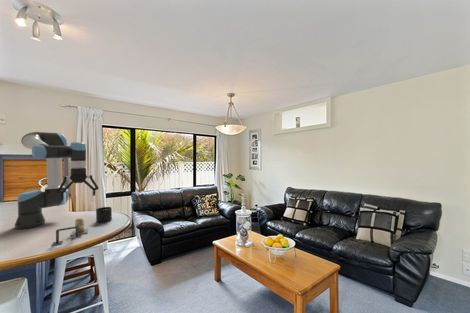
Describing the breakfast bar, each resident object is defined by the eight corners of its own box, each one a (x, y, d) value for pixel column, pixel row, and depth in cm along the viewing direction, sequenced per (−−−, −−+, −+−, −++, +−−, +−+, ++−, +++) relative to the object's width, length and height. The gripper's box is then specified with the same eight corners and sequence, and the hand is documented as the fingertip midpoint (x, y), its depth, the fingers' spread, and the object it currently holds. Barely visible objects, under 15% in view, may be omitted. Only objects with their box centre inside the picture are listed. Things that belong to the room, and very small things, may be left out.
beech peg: (75, 233, 126) (75, 220, 125) (75, 231, 129) (75, 218, 129) (84, 232, 128) (84, 219, 128) (84, 230, 132) (84, 217, 132)
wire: (55, 239, 118) (54, 225, 118) (81, 235, 125) (81, 221, 125) (52, 246, 110) (51, 231, 110) (80, 240, 117) (80, 226, 117)
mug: (93, 224, 143) (93, 211, 143) (98, 219, 155) (97, 207, 155) (109, 223, 147) (109, 210, 147) (112, 218, 158) (112, 206, 158)
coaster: (72, 232, 130) (72, 231, 130) (87, 229, 134) (87, 228, 134) (70, 236, 123) (70, 235, 123) (87, 233, 127) (87, 232, 127)
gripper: (50, 169, 118) (51, 206, 119) (102, 167, 132) (103, 200, 132) (52, 168, 124) (53, 203, 125) (102, 166, 138) (102, 198, 139)
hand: (79, 202), depth 129 cm, fingers open, 13 cm apart
